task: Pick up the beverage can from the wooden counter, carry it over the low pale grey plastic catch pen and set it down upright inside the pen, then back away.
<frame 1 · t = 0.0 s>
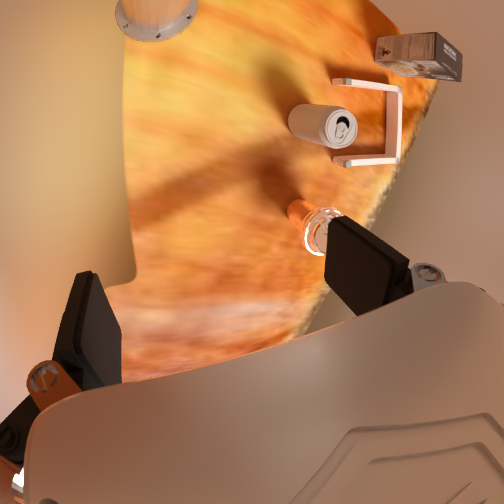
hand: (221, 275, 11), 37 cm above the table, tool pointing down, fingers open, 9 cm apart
beverage can: (301, 121, 46), on the table
coffee box 2: (389, 57, 44), on the table
catch pen: (363, 121, 49), on the table
cup with straw: (298, 210, 54), on the table
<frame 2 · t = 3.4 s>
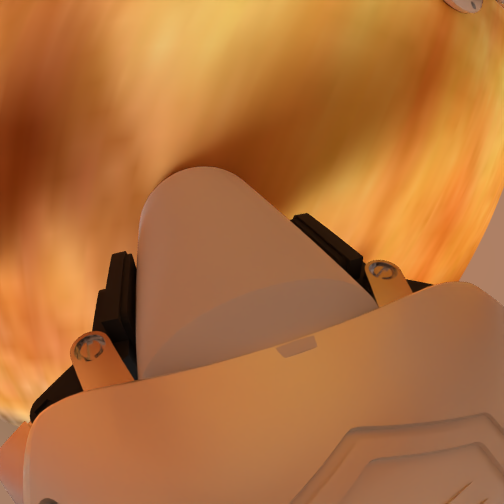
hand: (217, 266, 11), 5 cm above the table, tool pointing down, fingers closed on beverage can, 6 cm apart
beverage can: (198, 220, 15), on the table, touching gripper
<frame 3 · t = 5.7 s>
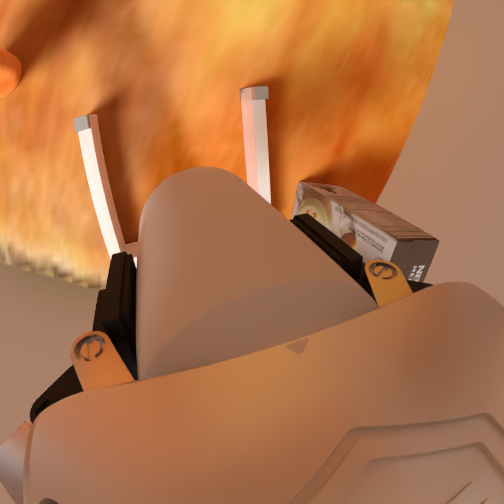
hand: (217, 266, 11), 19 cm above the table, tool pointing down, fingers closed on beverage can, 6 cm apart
beverage can: (198, 220, 15), point 14 cm above the table, touching gripper
coffee box 2: (311, 216, 35), on the table
catch pen: (178, 172, 27), on the table
cup with straw: (4, 78, 16), on the table
when the fingers open (6 cm above the table, at t = 8.1 s): beverage can drops 2 cm, on the table.
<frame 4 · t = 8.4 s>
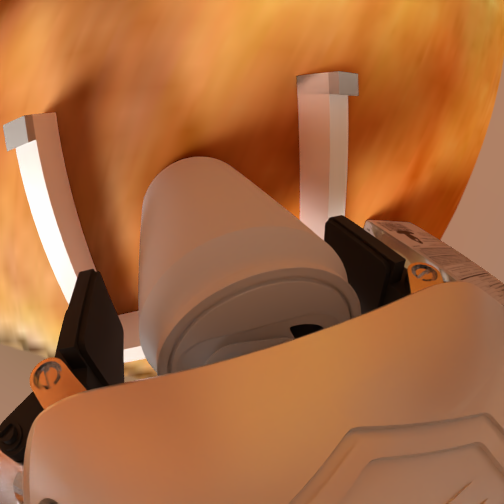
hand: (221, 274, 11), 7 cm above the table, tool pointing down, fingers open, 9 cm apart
beverage can: (194, 205, 17), on the table
coffee box 2: (373, 263, 25), on the table
catch pen: (193, 209, 17), on the table
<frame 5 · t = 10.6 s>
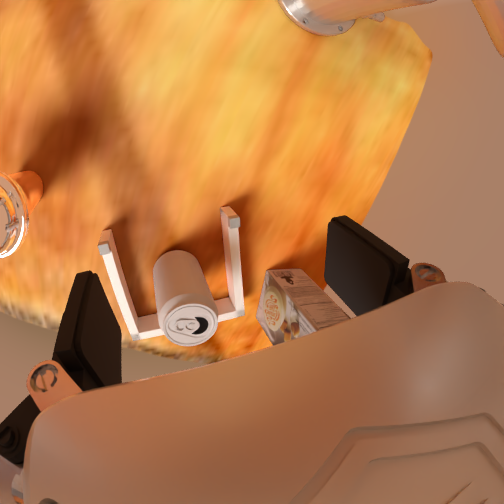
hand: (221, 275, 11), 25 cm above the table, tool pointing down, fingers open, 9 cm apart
beverage can: (175, 268, 38), on the table
coffee box 2: (277, 292, 46), on the table
catch pen: (175, 270, 38), on the table
cup with straw: (28, 190, 26), on the table
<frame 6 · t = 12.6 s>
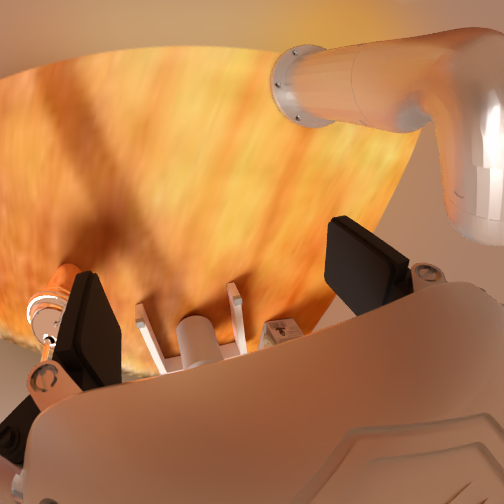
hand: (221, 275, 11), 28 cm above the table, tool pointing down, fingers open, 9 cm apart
beverage can: (193, 325, 49), on the table
coffee box 2: (274, 335, 56), on the table
catch pen: (193, 327, 48), on the table
cup with straw: (70, 277, 37), on the table
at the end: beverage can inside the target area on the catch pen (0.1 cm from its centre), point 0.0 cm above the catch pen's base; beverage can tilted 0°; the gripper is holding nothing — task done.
